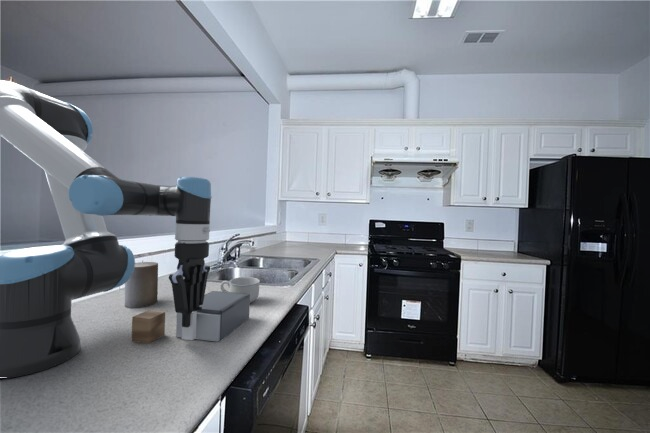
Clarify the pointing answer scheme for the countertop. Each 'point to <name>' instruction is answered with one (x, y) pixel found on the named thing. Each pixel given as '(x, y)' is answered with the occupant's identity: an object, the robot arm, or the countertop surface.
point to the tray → (203, 326)
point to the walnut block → (148, 326)
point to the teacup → (243, 286)
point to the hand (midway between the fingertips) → (188, 338)
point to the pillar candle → (142, 285)
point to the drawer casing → (227, 309)
